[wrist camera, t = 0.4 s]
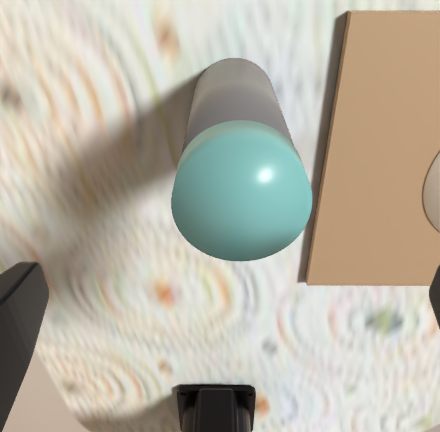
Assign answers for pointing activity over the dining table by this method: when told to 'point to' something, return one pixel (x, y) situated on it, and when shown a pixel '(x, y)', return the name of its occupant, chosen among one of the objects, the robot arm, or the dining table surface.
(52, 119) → the dining table surface
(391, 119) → the kraft pad
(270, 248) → the marker
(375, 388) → the dining table surface
